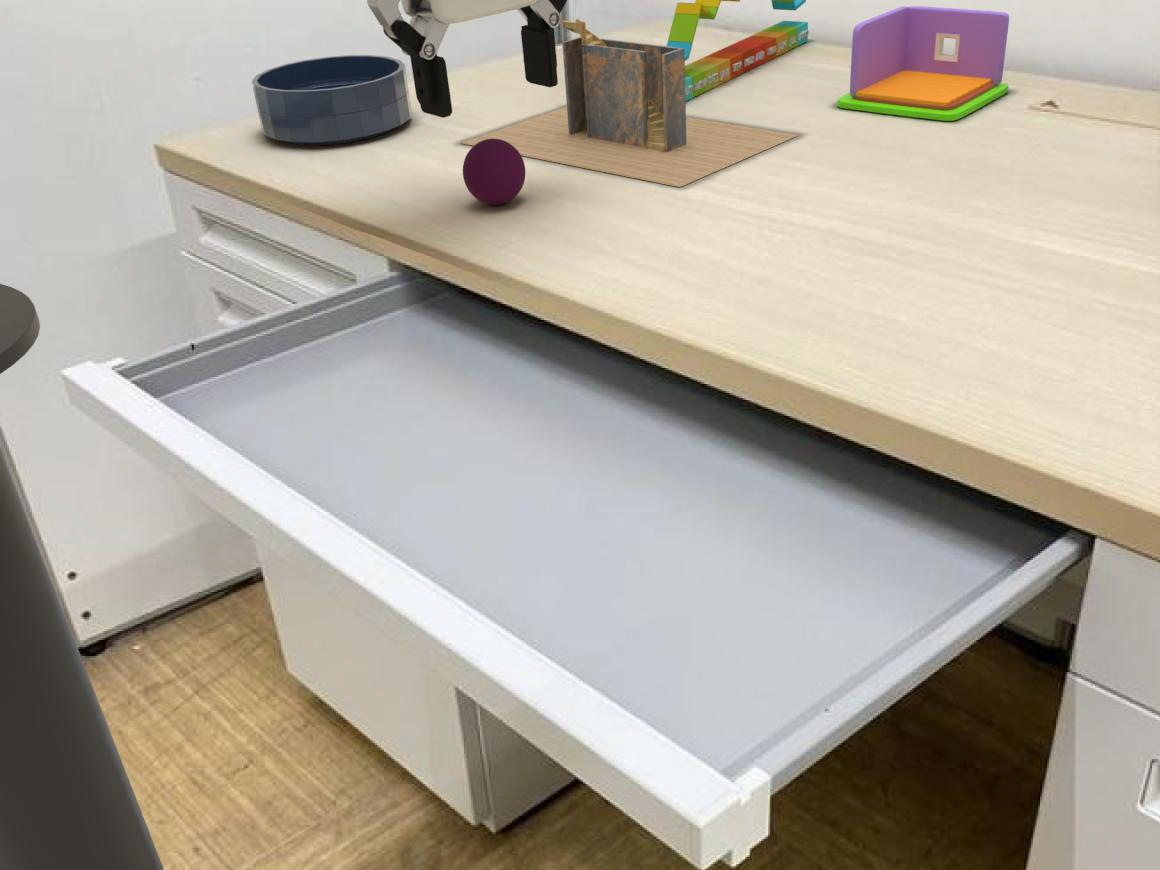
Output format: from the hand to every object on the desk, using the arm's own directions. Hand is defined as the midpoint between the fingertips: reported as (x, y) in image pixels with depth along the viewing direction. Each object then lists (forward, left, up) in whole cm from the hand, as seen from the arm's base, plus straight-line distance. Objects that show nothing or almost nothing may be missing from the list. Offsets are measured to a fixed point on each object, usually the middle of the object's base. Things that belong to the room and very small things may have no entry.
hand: (490, 98), depth 92 cm
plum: (0, 0, -5) cm, 5 cm away
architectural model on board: (+15, +11, -8) cm, 20 cm away
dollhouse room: (+43, +8, -8) cm, 44 cm away
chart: (+33, +28, -8) cm, 44 cm away
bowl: (-7, +30, -8) cm, 32 cm away
